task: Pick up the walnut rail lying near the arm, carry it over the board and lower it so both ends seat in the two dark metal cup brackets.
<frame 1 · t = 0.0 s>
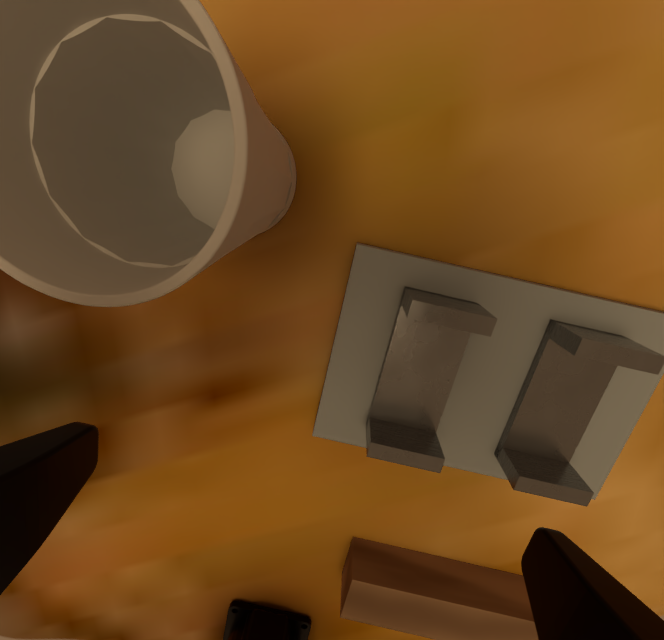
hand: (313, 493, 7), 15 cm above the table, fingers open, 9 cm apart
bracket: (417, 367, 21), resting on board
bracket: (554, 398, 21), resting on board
board: (480, 375, 22), on the table
rail: (446, 573, 27), on the table
cup: (238, 176, 20), on the table
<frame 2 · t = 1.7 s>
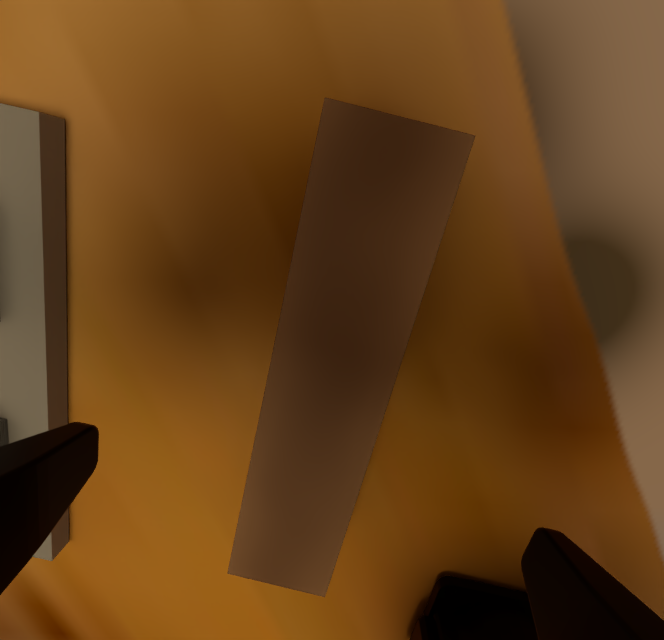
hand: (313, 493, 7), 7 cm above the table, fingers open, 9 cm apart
rail: (332, 354, 14), on the table
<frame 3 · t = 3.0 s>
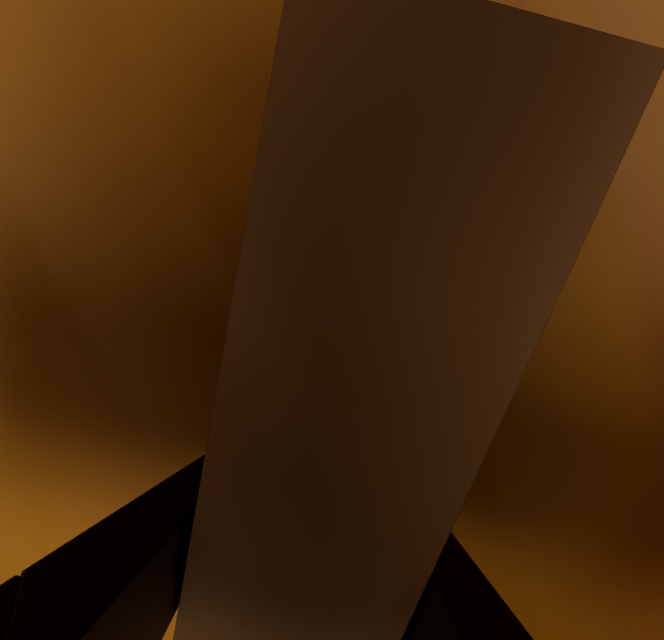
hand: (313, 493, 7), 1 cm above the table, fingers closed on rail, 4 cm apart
rail: (321, 444, 9), on the table, touching gripper
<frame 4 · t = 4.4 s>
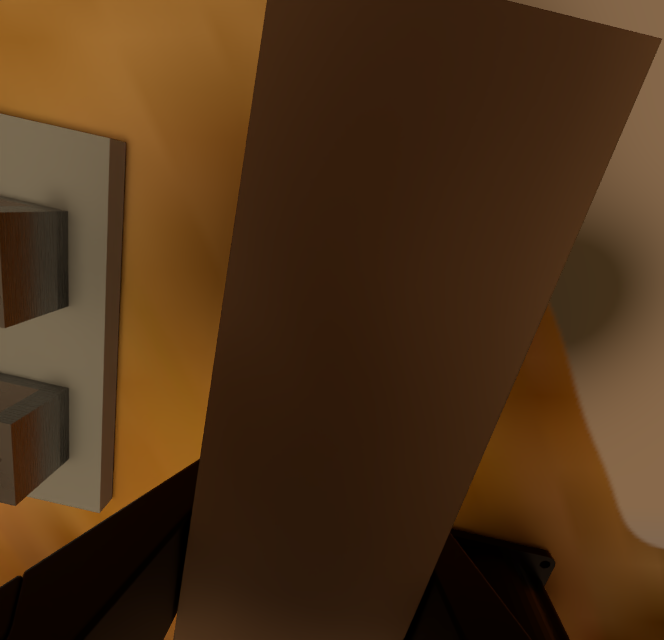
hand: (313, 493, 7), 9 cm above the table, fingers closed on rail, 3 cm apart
rail: (321, 446, 9), point 8 cm above the table, touching gripper
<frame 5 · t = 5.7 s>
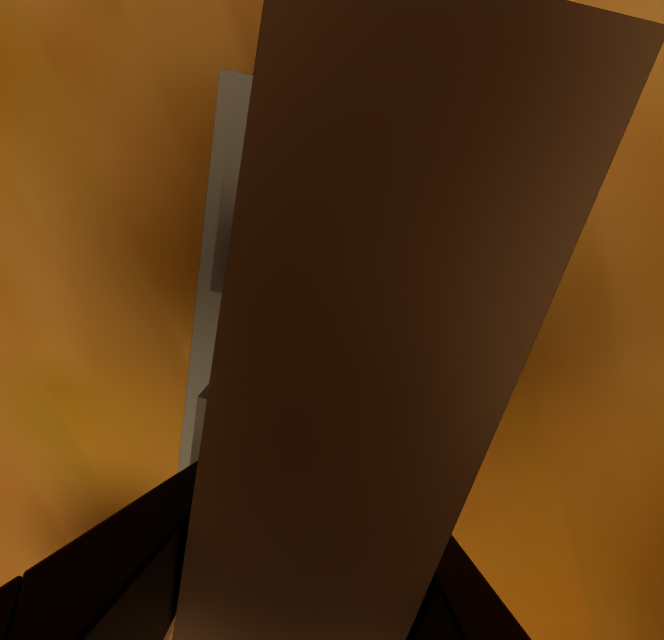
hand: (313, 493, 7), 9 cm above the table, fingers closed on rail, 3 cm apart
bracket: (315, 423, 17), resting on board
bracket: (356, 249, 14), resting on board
board: (335, 335, 16), on the table
rail: (321, 445, 9), point 8 cm above the table, touching gripper
when the fingers open (4 cm above the table, at t = 7.6 s): rail stays where it is, resting on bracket, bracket.
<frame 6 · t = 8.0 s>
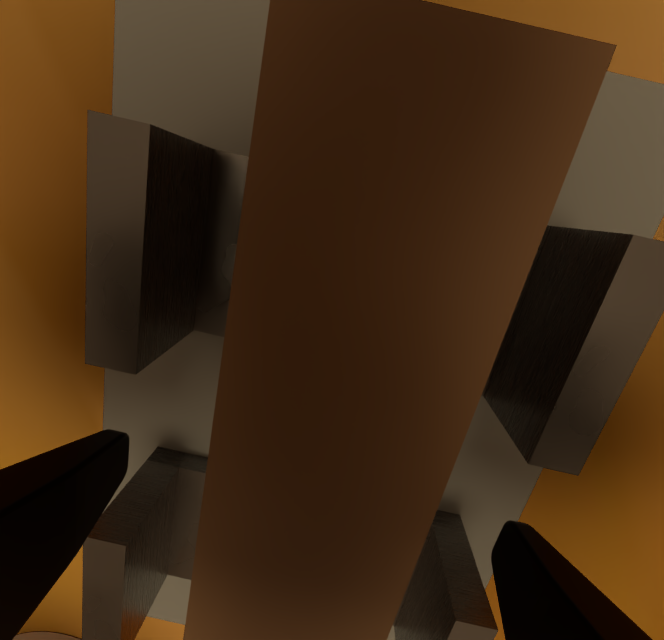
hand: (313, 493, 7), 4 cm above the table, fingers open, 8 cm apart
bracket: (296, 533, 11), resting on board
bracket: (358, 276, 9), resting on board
board: (326, 401, 11), on the table
rail: (322, 431, 9), point 2 cm above the table, touching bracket, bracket
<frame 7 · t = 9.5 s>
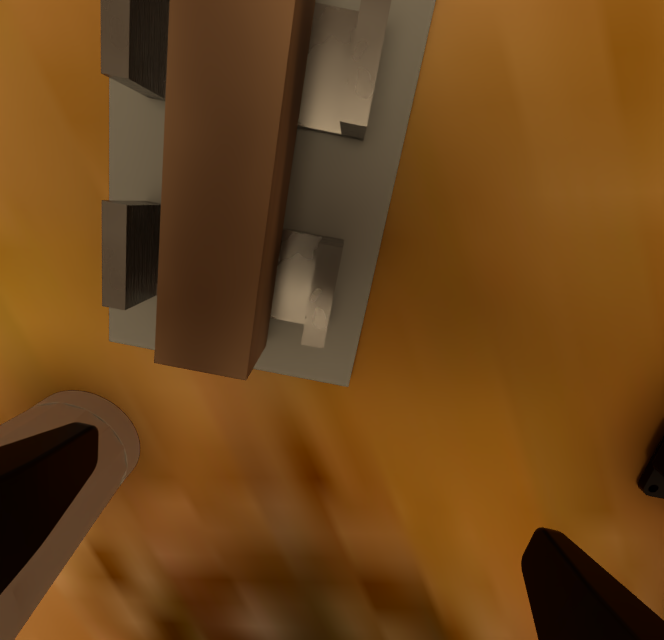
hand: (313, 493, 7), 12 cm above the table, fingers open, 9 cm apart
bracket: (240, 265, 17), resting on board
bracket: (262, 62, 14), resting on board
board: (256, 173, 16), on the table
rail: (247, 168, 15), point 2 cm above the table, touching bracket, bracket
cup: (88, 437, 21), on the table
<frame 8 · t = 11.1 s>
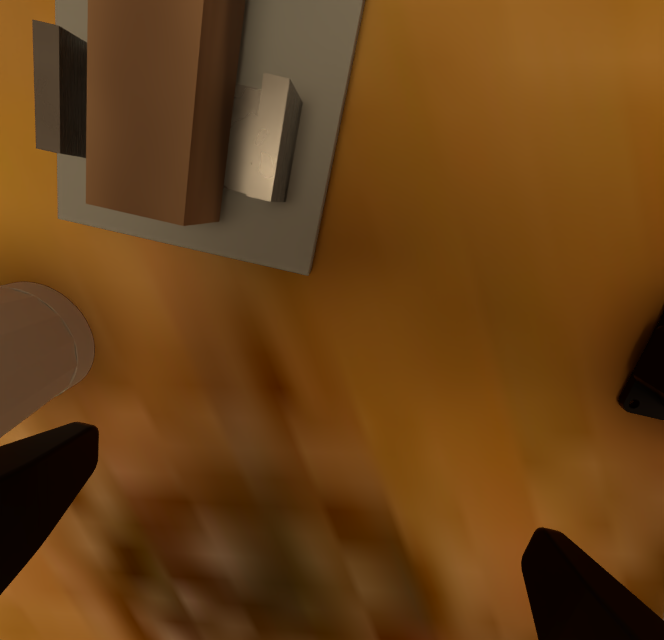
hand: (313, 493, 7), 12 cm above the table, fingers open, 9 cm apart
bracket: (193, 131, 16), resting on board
board: (213, 32, 16), on the table
rail: (197, 11, 14), point 2 cm above the table, touching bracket, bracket
cup: (41, 337, 21), on the table
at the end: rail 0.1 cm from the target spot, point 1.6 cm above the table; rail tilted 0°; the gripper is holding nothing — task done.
